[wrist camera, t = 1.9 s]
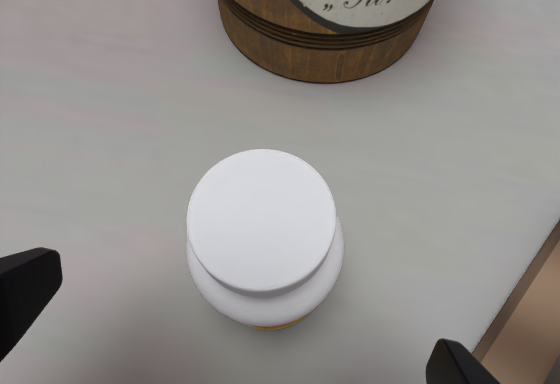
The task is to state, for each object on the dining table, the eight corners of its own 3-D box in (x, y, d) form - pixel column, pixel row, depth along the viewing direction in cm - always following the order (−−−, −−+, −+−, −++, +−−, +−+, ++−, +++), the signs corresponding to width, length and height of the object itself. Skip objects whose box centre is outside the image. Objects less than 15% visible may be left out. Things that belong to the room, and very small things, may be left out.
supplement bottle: (336, 246, 19) (389, 162, 10) (301, 349, 17) (326, 362, 8) (244, 211, 19) (214, 102, 10) (200, 304, 17) (116, 270, 8)
